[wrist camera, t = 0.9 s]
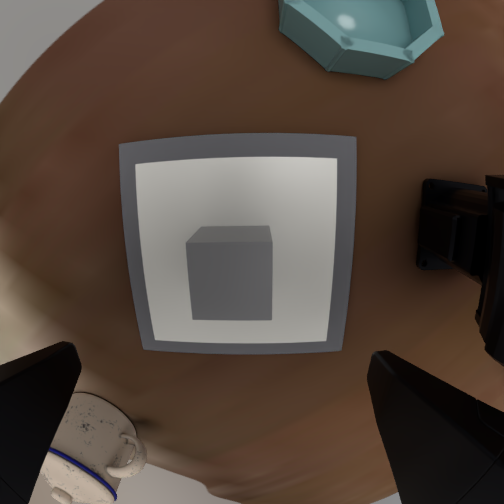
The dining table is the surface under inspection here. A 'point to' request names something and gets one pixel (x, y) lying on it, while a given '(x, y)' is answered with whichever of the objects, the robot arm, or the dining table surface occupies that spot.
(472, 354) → the dining table surface
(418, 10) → the bowl
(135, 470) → the teacup with lid
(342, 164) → the mat
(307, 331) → the lid
